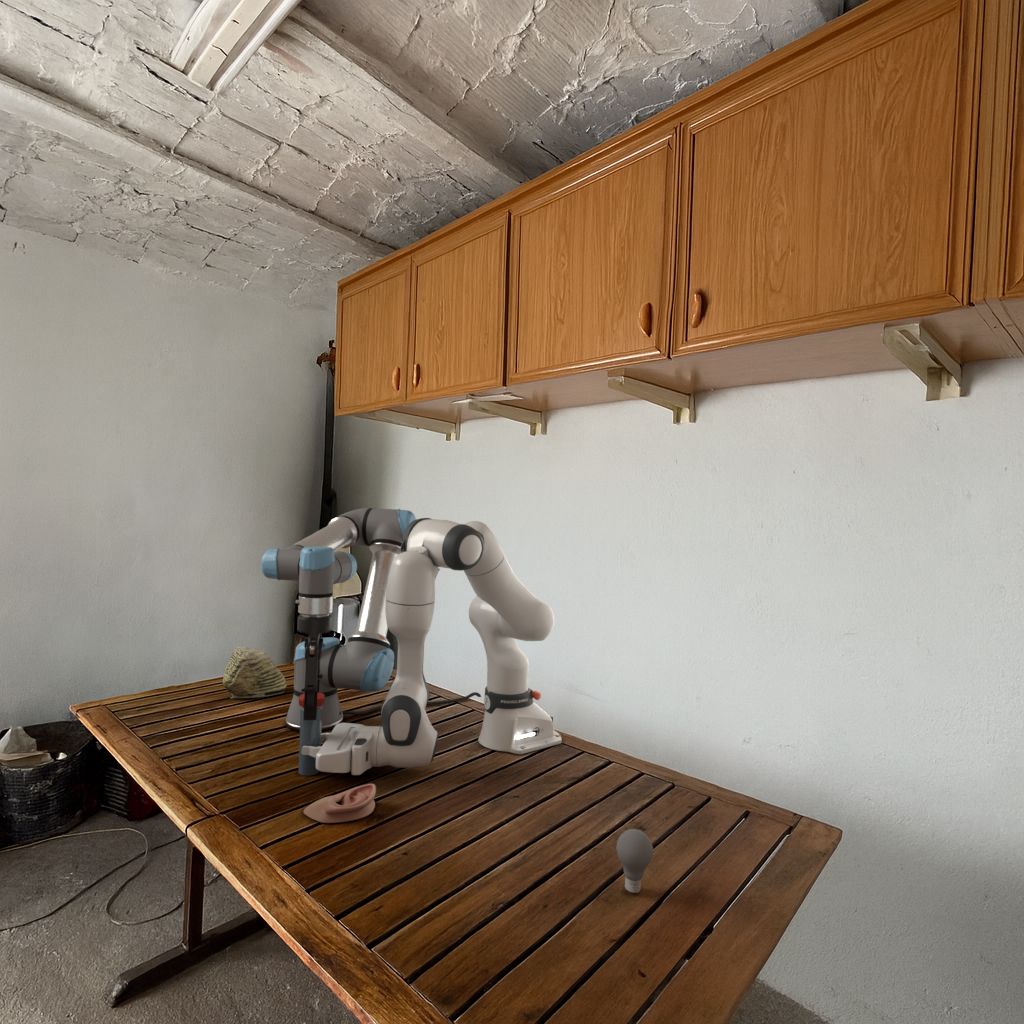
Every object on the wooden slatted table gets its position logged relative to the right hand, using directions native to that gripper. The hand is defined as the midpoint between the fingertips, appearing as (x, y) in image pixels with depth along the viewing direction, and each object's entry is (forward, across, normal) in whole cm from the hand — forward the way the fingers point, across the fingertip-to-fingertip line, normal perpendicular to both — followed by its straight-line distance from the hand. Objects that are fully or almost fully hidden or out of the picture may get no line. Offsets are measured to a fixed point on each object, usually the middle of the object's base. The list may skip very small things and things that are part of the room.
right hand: (306, 744), depth 146 cm
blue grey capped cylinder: (-1, 0, +6) cm, 6 cm away
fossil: (+31, -54, +6) cm, 62 cm away
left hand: (-1, 0, -7) cm, 7 cm away
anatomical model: (-12, +18, +6) cm, 22 cm away
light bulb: (-66, +43, +6) cm, 79 cm away
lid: (-1, 0, -11) cm, 11 cm away
